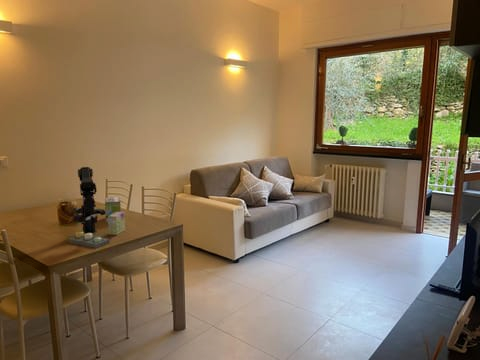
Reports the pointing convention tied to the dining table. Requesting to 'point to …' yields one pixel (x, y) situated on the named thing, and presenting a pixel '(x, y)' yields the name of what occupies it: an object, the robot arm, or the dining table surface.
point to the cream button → (88, 236)
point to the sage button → (97, 239)
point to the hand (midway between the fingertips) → (90, 229)
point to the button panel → (88, 241)
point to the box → (116, 223)
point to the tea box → (112, 206)
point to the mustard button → (79, 234)
